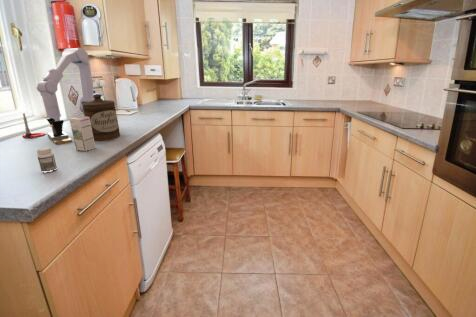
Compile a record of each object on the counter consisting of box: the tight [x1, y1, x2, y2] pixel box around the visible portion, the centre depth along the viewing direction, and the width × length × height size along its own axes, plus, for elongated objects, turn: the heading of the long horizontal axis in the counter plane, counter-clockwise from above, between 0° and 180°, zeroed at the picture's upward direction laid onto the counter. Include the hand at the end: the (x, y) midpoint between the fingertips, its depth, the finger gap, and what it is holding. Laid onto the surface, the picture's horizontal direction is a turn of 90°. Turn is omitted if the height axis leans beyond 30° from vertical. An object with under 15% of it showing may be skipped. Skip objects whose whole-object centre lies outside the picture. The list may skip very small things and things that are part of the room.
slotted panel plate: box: [47, 130, 73, 145], centre depth 140 cm, size 7×19×2 cm, turn 42°
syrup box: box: [68, 115, 97, 152], centre depth 121 cm, size 6×6×14 cm
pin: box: [49, 124, 60, 136], centre depth 139 cm, size 4×4×8 cm
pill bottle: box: [36, 146, 58, 172], centre depth 98 cm, size 5×5×8 cm
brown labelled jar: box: [82, 93, 121, 142], centre depth 139 cm, size 15×15×22 cm
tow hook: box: [22, 112, 46, 139], centre depth 146 cm, size 8×13×9 cm
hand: (58, 133), depth 139 cm, fingers open, 7 cm apart
